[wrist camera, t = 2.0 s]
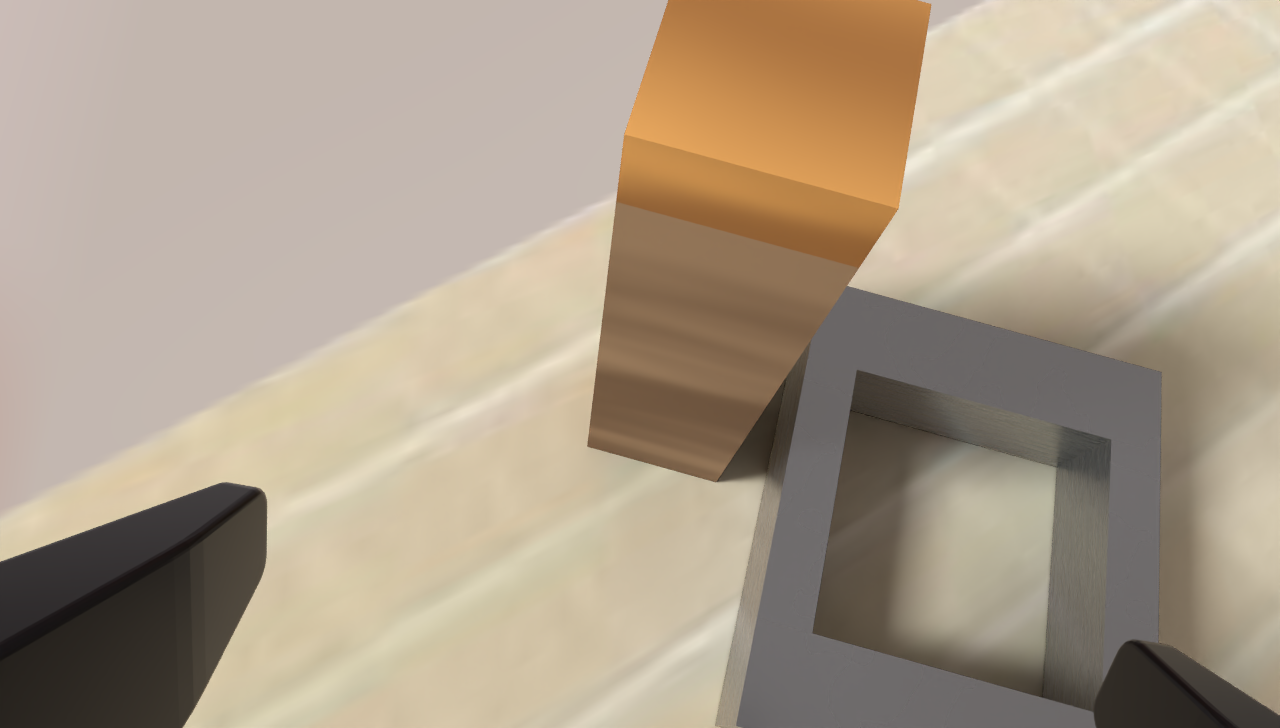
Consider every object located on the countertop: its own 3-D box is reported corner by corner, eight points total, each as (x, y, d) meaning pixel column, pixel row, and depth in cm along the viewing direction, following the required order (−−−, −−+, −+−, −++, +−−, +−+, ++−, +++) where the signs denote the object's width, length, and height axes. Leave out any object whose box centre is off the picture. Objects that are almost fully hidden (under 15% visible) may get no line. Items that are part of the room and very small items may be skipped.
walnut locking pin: (716, 482, 23) (898, 208, 11) (587, 446, 23) (623, 134, 11) (743, 364, 24) (931, 4, 12) (621, 330, 24) (688, -62, 12)
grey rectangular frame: (1087, 830, 20) (1156, 844, 18) (715, 725, 20) (735, 725, 18) (1104, 405, 24) (1161, 372, 22) (798, 321, 25) (823, 279, 22)
